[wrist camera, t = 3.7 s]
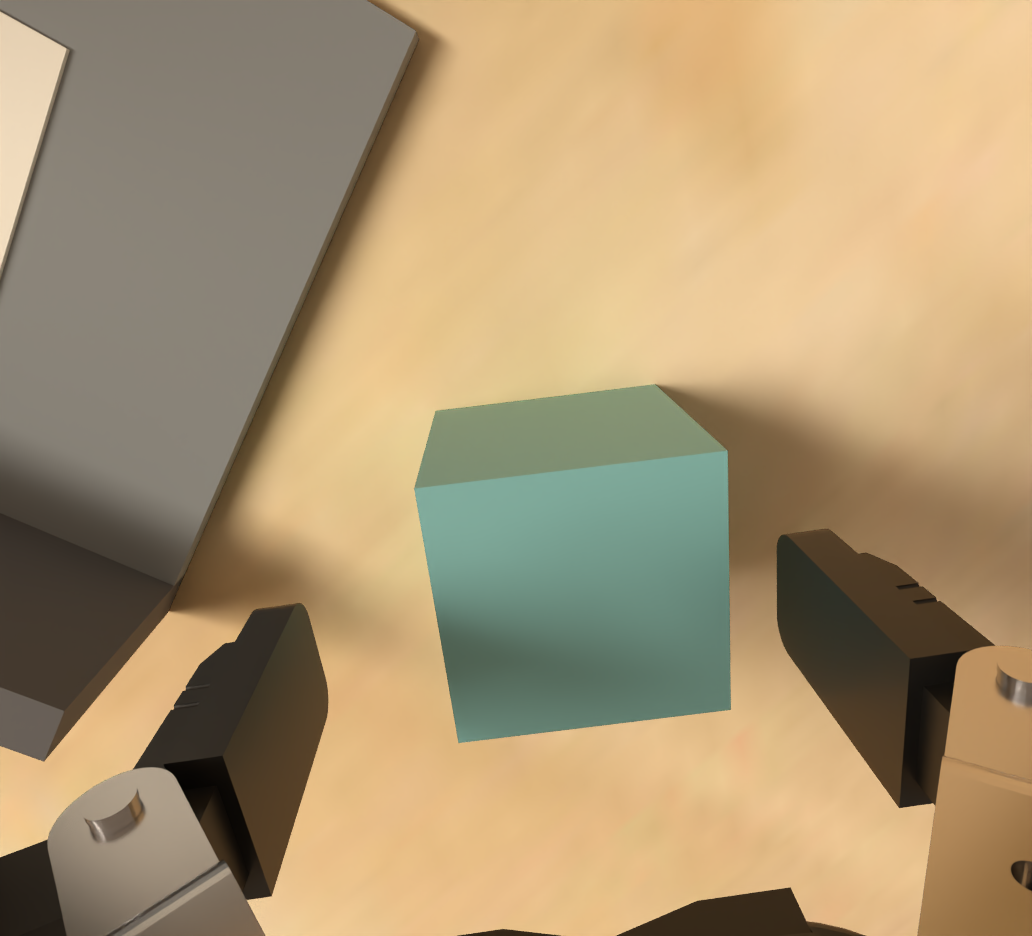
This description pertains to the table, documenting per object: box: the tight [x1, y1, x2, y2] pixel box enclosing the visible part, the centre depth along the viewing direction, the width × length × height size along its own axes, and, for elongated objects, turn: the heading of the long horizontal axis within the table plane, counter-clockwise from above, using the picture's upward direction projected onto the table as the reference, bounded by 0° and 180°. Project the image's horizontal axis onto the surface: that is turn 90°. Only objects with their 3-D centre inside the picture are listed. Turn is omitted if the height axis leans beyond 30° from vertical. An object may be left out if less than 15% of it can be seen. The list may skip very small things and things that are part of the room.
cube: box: [414, 385, 731, 743], centre depth 14 cm, size 5×5×5 cm
